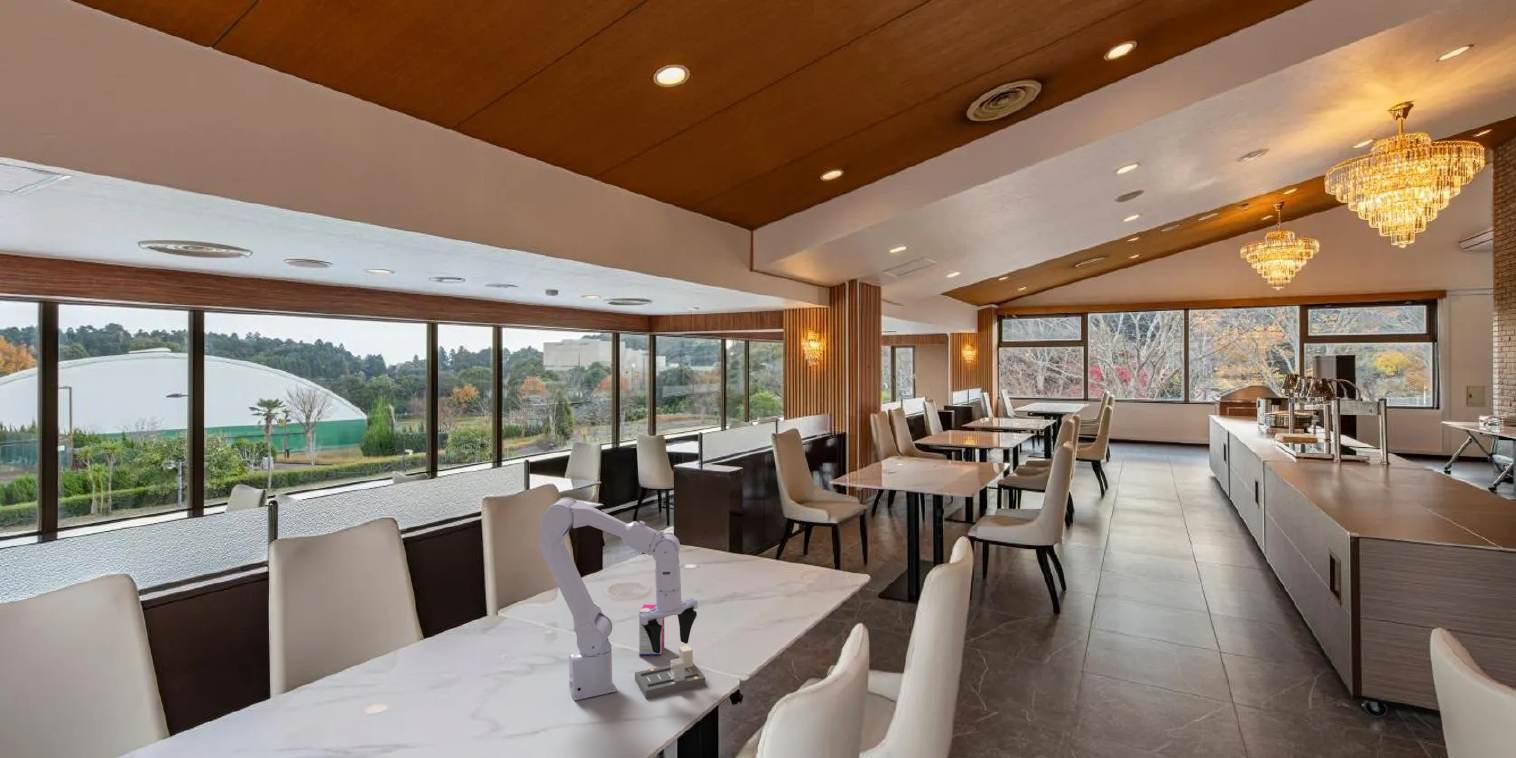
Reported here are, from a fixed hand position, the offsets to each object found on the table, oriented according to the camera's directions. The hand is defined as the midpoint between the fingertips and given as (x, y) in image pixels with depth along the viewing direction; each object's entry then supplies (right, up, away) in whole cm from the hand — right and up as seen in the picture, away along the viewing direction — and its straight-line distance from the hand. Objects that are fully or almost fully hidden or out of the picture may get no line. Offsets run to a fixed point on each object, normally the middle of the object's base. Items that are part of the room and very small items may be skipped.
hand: (670, 647), depth 150 cm
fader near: (+2, -8, -1) cm, 8 cm away
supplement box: (-7, -9, +19) cm, 22 cm away
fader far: (+3, -8, +6) cm, 10 cm away
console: (0, -9, +1) cm, 9 cm away
